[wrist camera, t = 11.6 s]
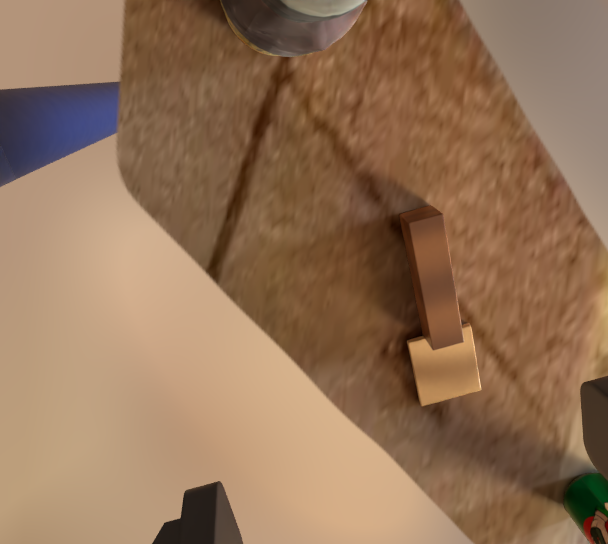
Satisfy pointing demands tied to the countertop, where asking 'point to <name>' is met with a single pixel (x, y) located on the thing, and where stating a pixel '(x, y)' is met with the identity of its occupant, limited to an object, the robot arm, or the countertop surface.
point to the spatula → (437, 313)
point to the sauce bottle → (291, 23)
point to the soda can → (589, 506)
